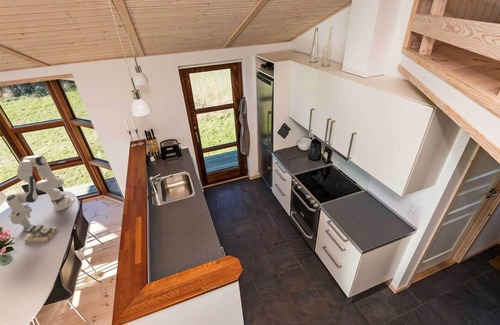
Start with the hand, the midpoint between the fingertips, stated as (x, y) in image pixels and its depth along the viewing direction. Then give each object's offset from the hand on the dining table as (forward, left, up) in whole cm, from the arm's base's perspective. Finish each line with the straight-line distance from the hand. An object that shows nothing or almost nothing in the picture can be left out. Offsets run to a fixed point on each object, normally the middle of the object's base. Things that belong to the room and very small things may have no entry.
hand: (25, 221), depth 241 cm
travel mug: (-14, -17, -21) cm, 31 cm away
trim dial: (+6, +3, -17) cm, 18 cm away
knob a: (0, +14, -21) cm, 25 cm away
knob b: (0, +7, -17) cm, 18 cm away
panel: (0, +7, -21) cm, 22 cm away
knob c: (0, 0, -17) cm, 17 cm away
